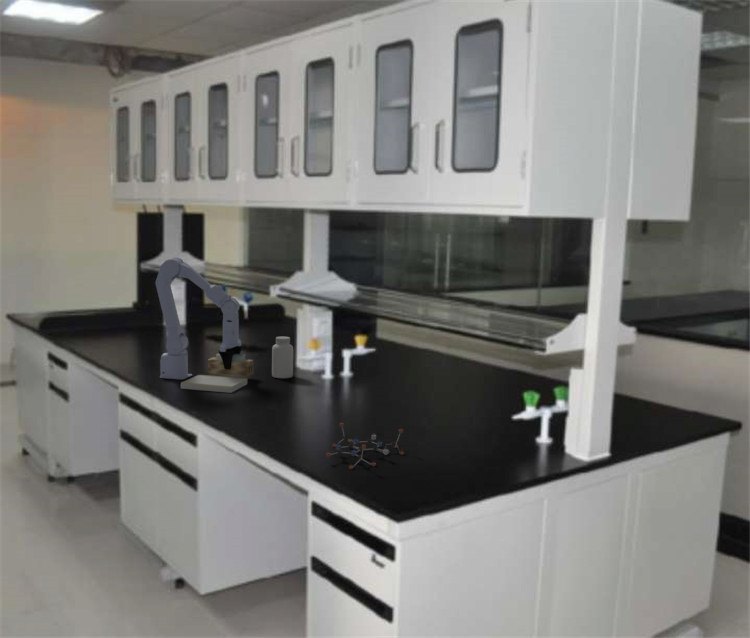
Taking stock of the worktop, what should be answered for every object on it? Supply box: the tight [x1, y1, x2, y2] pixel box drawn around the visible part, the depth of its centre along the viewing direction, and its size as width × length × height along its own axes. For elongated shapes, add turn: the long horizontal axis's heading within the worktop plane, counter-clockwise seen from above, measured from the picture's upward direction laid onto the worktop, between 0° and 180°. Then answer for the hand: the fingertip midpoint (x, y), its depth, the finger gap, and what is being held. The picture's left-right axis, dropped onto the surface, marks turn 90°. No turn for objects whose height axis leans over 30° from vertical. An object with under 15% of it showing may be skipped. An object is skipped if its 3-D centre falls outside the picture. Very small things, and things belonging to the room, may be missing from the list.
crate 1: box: [215, 353, 222, 360], centre depth 299 cm, size 4×4×2 cm
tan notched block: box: [207, 356, 254, 377], centre depth 299 cm, size 16×5×5 cm, turn 76°
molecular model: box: [325, 422, 405, 470], centre depth 213 cm, size 24×7×20 cm
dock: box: [180, 374, 248, 394], centre depth 286 cm, size 19×14×2 cm
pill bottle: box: [271, 335, 294, 379], centre depth 303 cm, size 8×8×15 cm
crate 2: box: [232, 353, 246, 362], centre depth 297 cm, size 4×4×2 cm
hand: (230, 367), depth 299 cm, fingers closed on tan notched block, 5 cm apart
